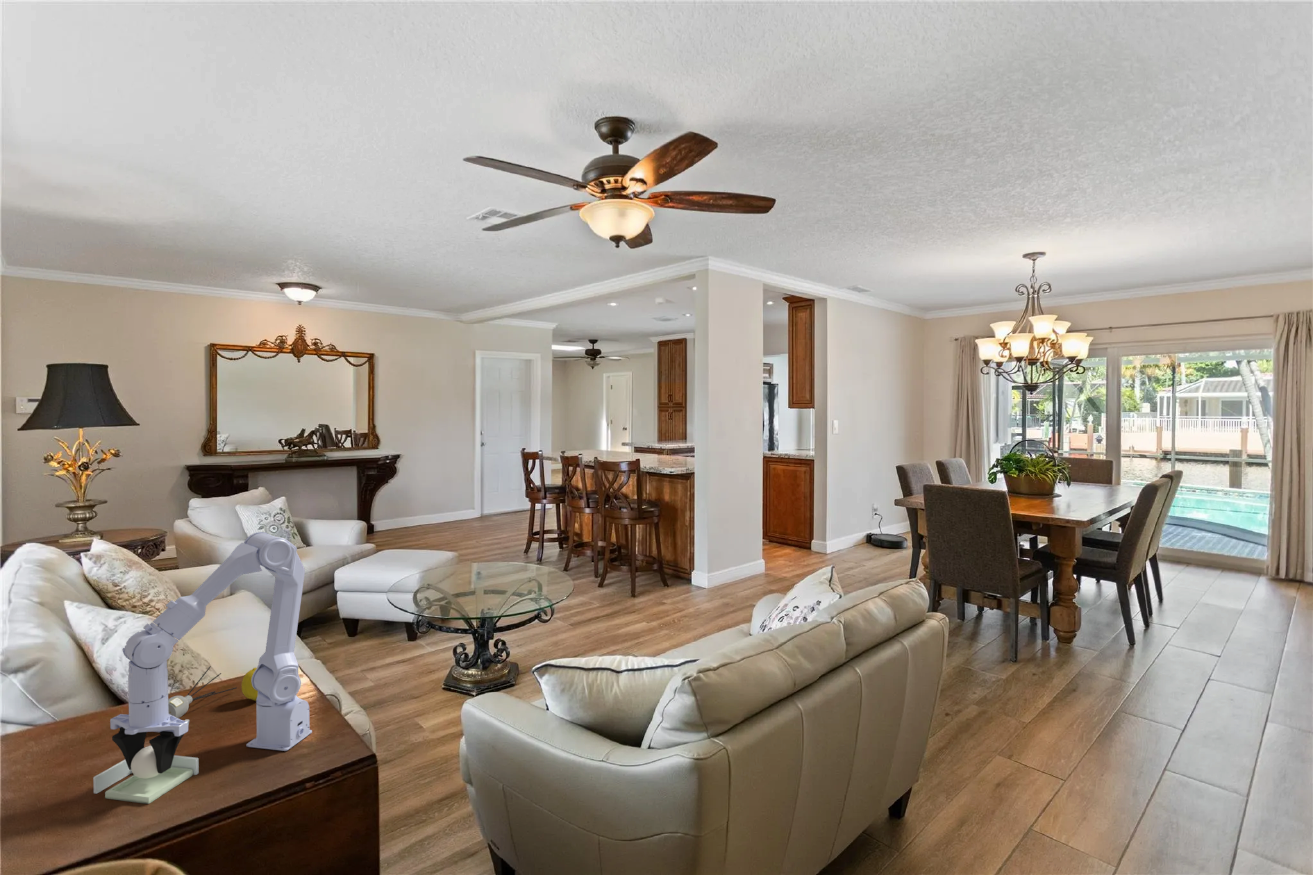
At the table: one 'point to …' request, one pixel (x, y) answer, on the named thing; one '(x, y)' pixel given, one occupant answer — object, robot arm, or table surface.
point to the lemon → (249, 686)
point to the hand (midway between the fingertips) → (150, 768)
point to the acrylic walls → (122, 771)
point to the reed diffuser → (186, 701)
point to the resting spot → (148, 786)
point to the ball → (144, 763)
